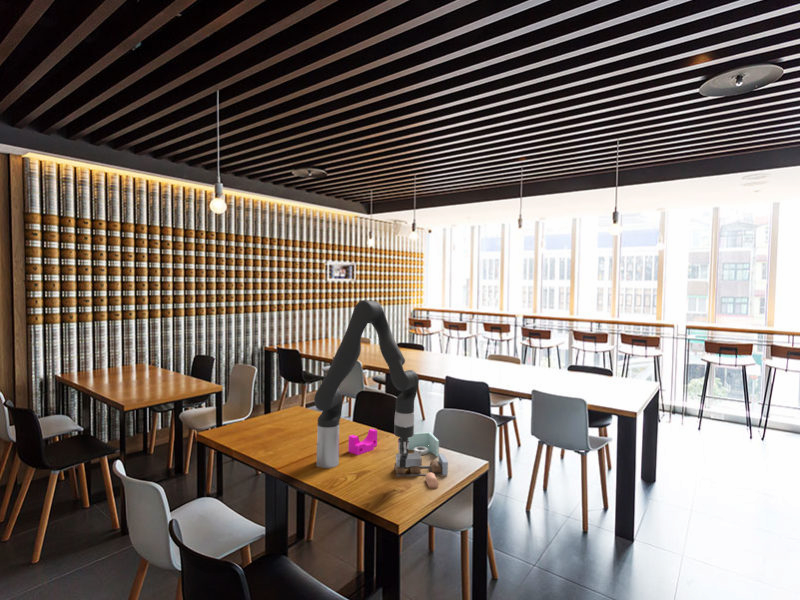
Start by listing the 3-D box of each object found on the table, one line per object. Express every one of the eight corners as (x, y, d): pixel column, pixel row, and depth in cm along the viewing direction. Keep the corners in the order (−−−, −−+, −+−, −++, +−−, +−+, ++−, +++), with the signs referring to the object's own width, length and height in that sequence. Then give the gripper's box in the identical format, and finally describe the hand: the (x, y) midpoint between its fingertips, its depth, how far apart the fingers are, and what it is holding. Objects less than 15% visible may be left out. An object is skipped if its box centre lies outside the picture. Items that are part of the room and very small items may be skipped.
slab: (397, 466, 176) (397, 459, 176) (395, 460, 182) (395, 453, 182) (421, 466, 177) (421, 458, 177) (419, 460, 183) (419, 453, 183)
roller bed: (396, 477, 175) (396, 468, 174) (394, 468, 183) (394, 459, 183) (442, 476, 177) (442, 466, 176) (438, 467, 185) (438, 458, 185)
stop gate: (442, 476, 176) (442, 462, 176) (438, 467, 185) (438, 453, 185) (447, 476, 177) (447, 462, 176) (442, 467, 185) (443, 453, 185)
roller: (431, 491, 165) (426, 483, 165) (428, 484, 171) (423, 475, 171) (440, 486, 165) (435, 477, 165) (437, 478, 172) (432, 470, 171)
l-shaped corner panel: (406, 449, 206) (406, 433, 206) (429, 447, 209) (430, 432, 209) (413, 459, 194) (413, 442, 194) (438, 457, 197) (438, 440, 197)
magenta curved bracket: (357, 455, 197) (357, 439, 197) (348, 452, 201) (348, 436, 201) (380, 447, 208) (380, 431, 208) (371, 443, 212) (371, 428, 212)
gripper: (393, 417, 172) (391, 460, 173) (396, 428, 159) (394, 474, 160) (411, 417, 173) (409, 460, 174) (416, 428, 160) (414, 474, 161)
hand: (402, 467), depth 167 cm, fingers closed
